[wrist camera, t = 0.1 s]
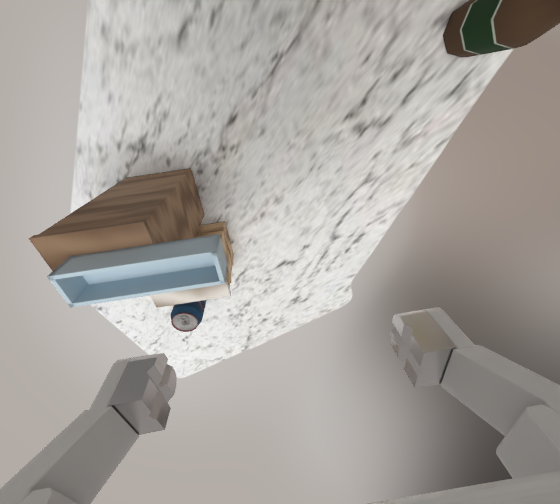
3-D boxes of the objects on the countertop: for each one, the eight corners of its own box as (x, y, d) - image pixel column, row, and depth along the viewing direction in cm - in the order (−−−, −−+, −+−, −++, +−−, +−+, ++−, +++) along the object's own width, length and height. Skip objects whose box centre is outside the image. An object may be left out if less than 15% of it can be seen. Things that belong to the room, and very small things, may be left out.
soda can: (211, 296, 69) (204, 331, 59) (185, 299, 69) (173, 335, 58) (205, 276, 65) (196, 309, 55) (178, 279, 65) (164, 313, 55)
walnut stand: (125, 176, 51) (28, 238, 29) (190, 167, 51) (143, 221, 29) (146, 223, 56) (78, 305, 34) (204, 214, 57) (174, 291, 34)
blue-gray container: (69, 256, 30) (47, 276, 27) (219, 234, 31) (215, 251, 27) (89, 285, 33) (70, 307, 29) (228, 264, 33) (225, 283, 30)
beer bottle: (438, 63, 46) (588, 37, 25) (444, 5, 42) (629, -81, 21) (481, 53, 46) (667, 18, 25) (492, -7, 41) (724, -106, 21)
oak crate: (161, 229, 57) (136, 267, 45) (225, 220, 58) (218, 255, 45) (175, 264, 62) (156, 307, 50) (234, 255, 63) (230, 296, 50)
